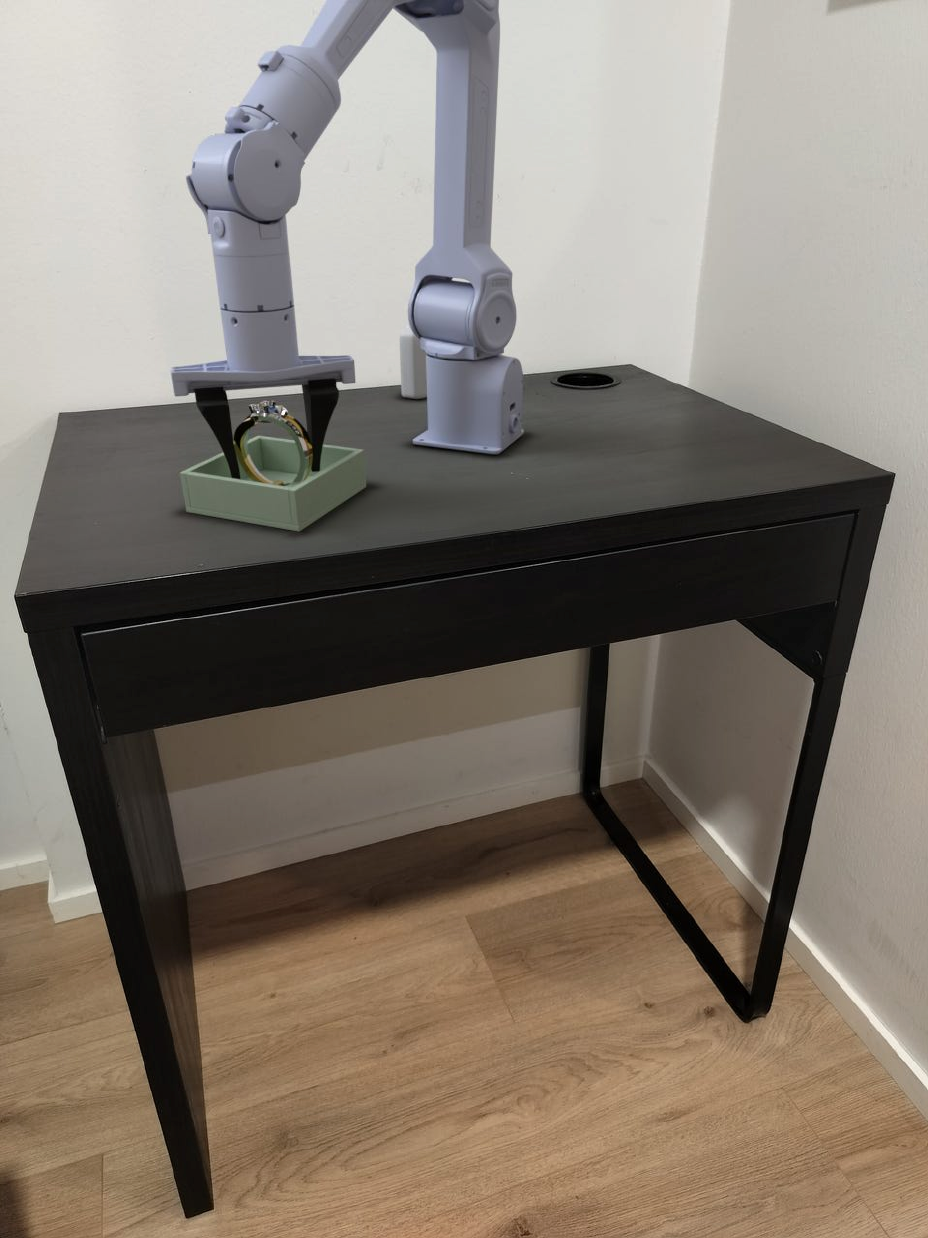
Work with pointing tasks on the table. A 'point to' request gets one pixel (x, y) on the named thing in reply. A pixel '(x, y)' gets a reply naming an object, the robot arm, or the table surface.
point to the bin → (268, 503)
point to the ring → (286, 421)
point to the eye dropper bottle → (412, 366)
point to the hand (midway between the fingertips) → (275, 471)
